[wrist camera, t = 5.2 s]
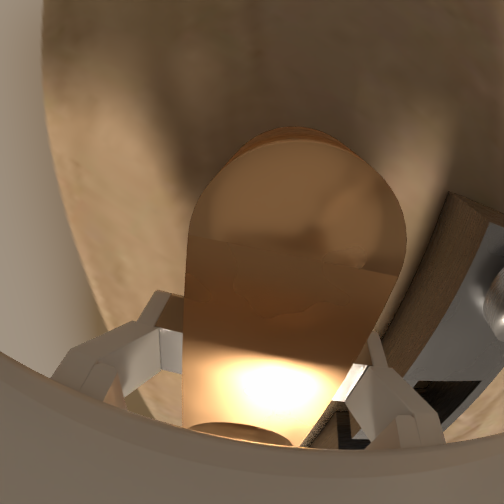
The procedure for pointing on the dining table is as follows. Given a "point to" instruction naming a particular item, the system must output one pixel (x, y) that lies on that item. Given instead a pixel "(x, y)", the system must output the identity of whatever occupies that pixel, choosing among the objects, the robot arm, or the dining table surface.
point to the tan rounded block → (283, 284)
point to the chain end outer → (338, 435)
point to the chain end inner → (452, 312)
